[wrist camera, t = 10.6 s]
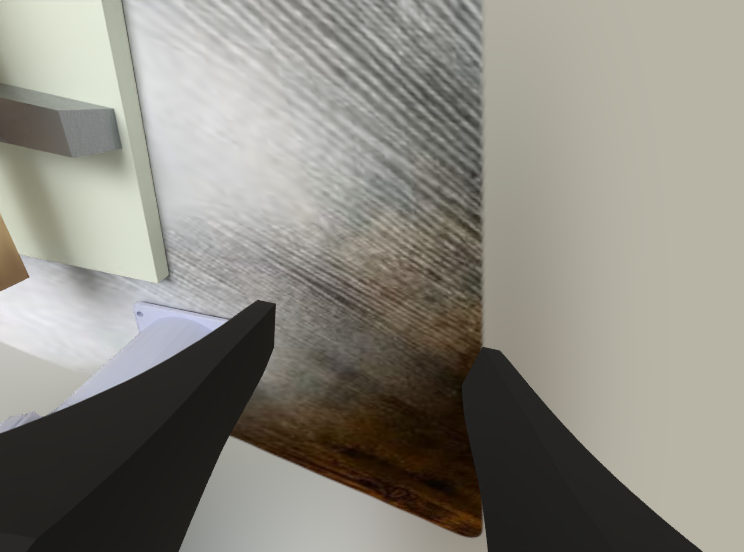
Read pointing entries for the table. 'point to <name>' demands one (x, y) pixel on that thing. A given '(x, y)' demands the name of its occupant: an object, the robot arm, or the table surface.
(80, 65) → the balance stand
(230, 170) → the table surface
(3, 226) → the wooden block
